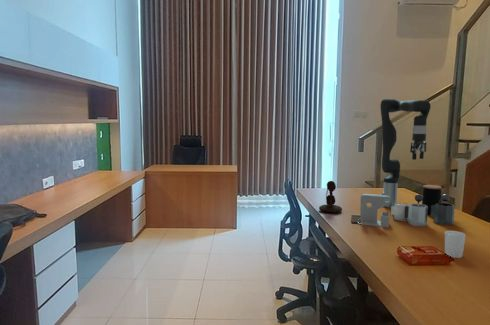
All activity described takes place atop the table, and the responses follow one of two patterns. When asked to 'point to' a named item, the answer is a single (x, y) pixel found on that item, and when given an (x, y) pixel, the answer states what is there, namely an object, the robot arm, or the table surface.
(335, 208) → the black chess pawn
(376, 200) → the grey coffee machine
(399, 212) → the mug
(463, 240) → the white cup
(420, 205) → the steel press
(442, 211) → the black press
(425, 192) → the coffee jar
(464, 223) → the table surface
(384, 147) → the robot arm
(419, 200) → the plunger
